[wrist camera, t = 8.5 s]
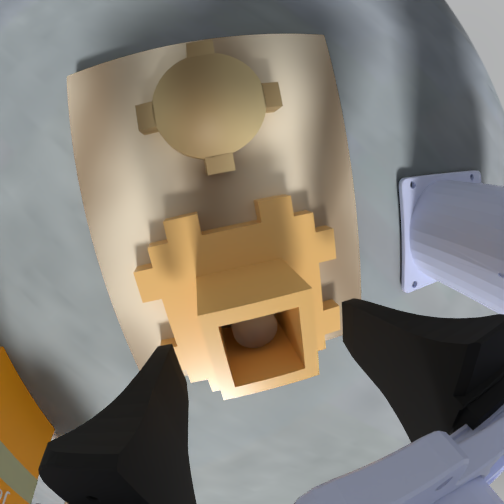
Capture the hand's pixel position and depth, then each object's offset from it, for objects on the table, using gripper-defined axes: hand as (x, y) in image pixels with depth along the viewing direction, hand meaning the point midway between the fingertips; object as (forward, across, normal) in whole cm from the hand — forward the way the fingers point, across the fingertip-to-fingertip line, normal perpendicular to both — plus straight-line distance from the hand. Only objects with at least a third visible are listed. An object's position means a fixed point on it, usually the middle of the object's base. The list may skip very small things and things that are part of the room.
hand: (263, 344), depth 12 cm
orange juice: (+6, +22, +5) cm, 23 cm away
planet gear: (+4, 0, 0) cm, 4 cm away
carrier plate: (+6, 0, -5) cm, 7 cm away
